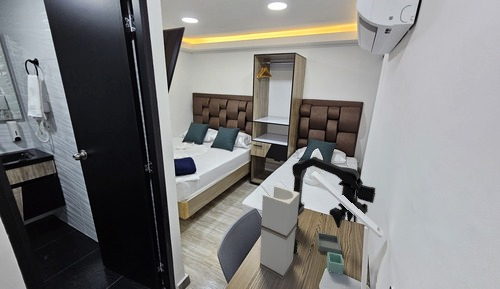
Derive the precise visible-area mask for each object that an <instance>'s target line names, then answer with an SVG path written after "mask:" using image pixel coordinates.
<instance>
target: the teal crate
mask: <svg viewBox="0 0 500 289" xmlns="http://www.w3.org/2000/svg"><path fill="white" fill-rule="evenodd" d="M326 253H327V254H326V268H327V272H328V271H331V272H330V273H332V272H334V273H333V274H337V273H340V274H339V275H342V274H343V275H344V269H345V264H344V263H345V262H344V258H343V255H342V254H341V255H340V254H335V253H330V252H326Z"/></svg>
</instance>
